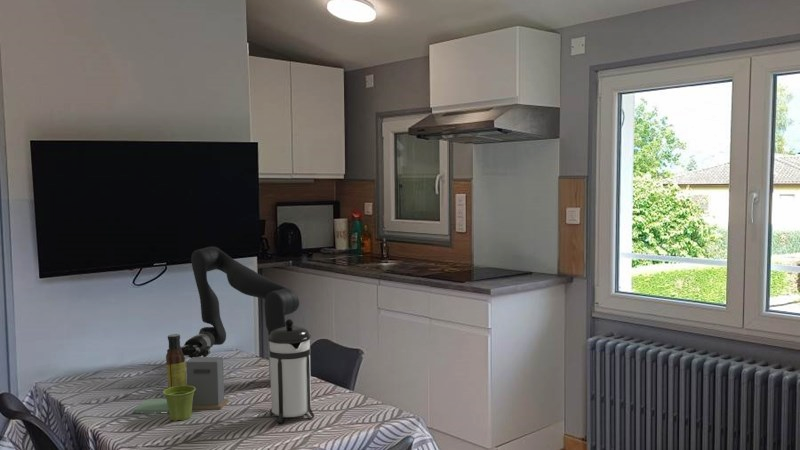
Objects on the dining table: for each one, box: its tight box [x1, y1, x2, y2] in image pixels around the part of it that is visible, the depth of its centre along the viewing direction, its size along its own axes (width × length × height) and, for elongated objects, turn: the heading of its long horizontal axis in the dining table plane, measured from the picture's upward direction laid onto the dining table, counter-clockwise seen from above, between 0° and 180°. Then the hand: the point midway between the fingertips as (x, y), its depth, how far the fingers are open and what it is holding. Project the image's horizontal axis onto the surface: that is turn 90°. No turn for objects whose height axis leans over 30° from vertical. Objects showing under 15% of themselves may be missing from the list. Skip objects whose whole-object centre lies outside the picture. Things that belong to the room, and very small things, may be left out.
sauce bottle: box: [165, 333, 187, 389], centre depth 232 cm, size 6×6×20 cm
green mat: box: [133, 398, 169, 414], centre depth 216 cm, size 11×11×1 cm
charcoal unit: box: [185, 356, 229, 411], centre depth 217 cm, size 12×8×15 cm, turn 87°
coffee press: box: [267, 319, 315, 425], centre depth 206 cm, size 17×16×30 cm
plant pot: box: [162, 385, 196, 422], centre depth 206 cm, size 9×9×9 cm
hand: (181, 356), depth 237 cm, fingers open, 8 cm apart
